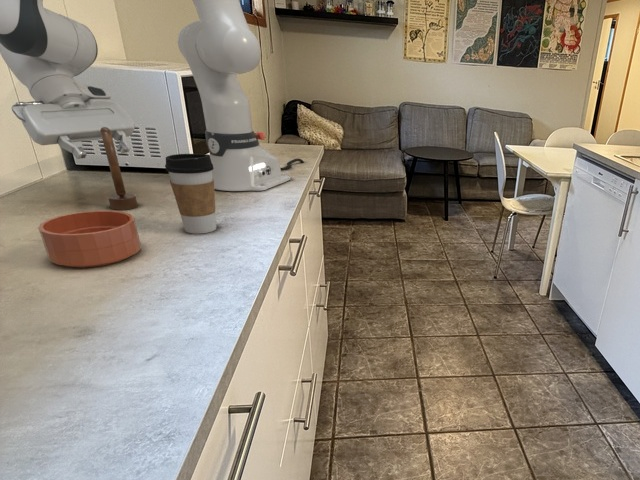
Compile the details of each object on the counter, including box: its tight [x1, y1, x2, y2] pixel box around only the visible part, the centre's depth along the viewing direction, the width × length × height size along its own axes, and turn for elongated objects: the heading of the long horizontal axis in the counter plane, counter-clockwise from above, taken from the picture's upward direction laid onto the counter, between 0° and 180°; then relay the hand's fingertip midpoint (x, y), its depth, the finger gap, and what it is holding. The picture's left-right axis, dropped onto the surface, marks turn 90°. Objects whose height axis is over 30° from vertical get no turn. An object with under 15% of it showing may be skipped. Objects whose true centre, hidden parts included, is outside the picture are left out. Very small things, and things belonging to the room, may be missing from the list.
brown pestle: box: [100, 127, 139, 211], centre depth 103 cm, size 5×5×17 cm
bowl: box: [37, 210, 142, 268], centre depth 82 cm, size 13×13×6 cm
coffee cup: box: [164, 153, 217, 235], centre depth 94 cm, size 8×8×15 cm
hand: (105, 153), depth 102 cm, fingers open, 8 cm apart
